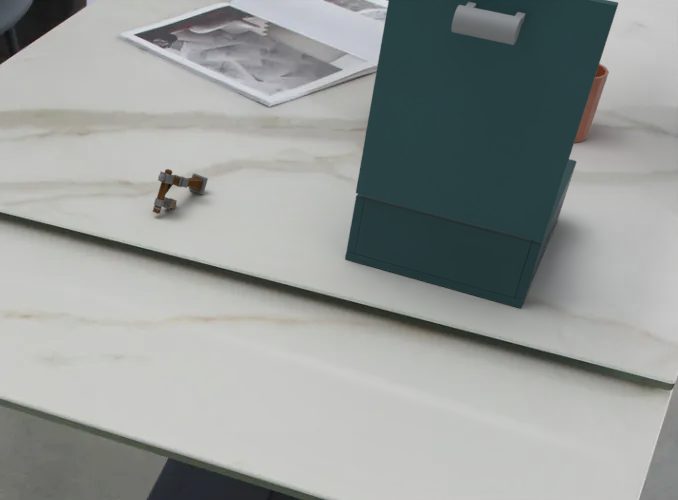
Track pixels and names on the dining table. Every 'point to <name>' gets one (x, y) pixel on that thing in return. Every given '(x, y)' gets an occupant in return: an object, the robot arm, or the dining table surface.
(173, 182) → the brown grey bent piece
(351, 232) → the teal box base
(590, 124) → the cup
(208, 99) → the dining table surface
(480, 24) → the lid
